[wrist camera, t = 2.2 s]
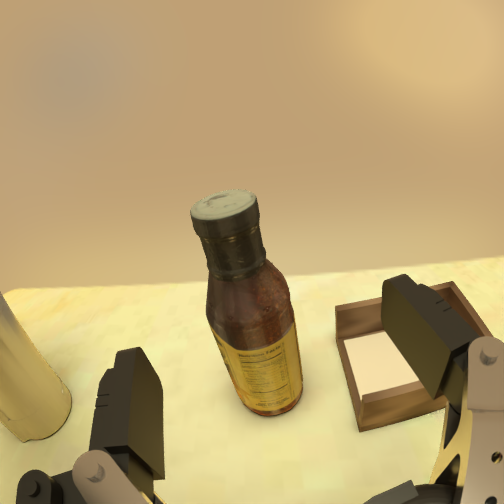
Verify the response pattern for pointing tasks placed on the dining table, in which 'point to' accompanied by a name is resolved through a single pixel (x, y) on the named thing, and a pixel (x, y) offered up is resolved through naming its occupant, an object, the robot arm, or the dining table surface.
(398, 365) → the box
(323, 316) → the dining table surface
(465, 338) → the robot arm
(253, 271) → the sauce bottle
